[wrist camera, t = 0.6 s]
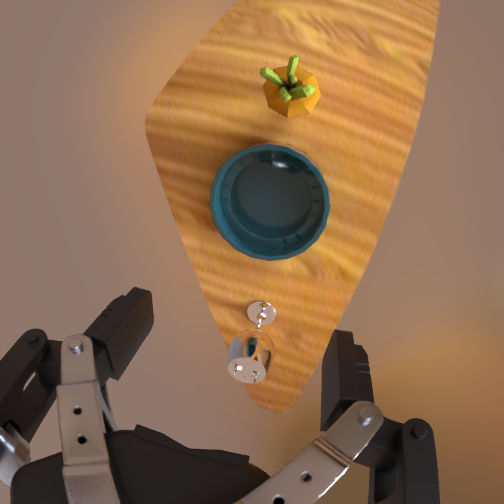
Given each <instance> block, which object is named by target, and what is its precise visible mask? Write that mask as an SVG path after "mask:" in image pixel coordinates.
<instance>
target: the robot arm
mask: <svg viewBox="0 0 504 504" xmlns="http://www.w3.org/2000/svg"><path fill="white" fill-rule="evenodd" d="M153 322H154V314H153V304H152V294H151V292H150V291H148V290H144V289H140V288H137V287H134V288H132V290H131V291H130V292H129V293H128V294H127V295H126V296H124V295H122V296H120V297H118V298H116V299H114V300H113V301H112V302H111V303H110V304H109V305H108V306H107V308H106V309H104V311H103V312H102V313H101V314H100V315H99V317H97V318H96V320H95V321H94V322H93V323H92V324H91V325H90V326H89V328H88V329H87V330H86V331H85V332H84V333H83V334H75V335H71V336H69V337H68V338H66V339H65V340H64V341H54V340H48V338H47V335H46V333H45V332H44V331H43V330H41V329H31V330H28V331H26V332H25V333H24V334H23V335H22V336H21V337H20V338H19V339H18V340H17V342H16V343H15V344H14V345H13V346H12V348H11V349H10V350H9V351H8V352H7V353H6V355H5V356H4V357H3V358H2V360H1V361H0V481H1V482H2V483H3V484H5V485H6V486H7V487H8V488H10V497H11V500H10V504H314V503H315V502H316V501H317V500H318V499H319V498H320V497H321V496H322V495H323V494H324V493H325V492H326V491H327V490H328V489H329V488H330V487H331V486H332V485H333V484H334V483H335V482H336V481H337V480H338V479H339V477H340V476H341V475H342V474H343V473H344V472H345V471H346V470H347V469H348V467H349V466H350V465H351V463H352V462H355V463H359V464H361V465H365V466H367V467H370V476H369V494H368V504H440V494H439V478H438V468H437V459H436V458H437V457H436V449H435V441H434V434H433V430H432V428H431V427H430V425H429V424H428V423H427V422H426V421H424V420H422V419H418V418H414V419H410V420H408V421H407V422H406V423H405V424H402V423H399V422H396V421H393V420H390V419H387V418H386V417H384V416H383V414H382V411H381V410H380V408H378V406H376V405H375V404H374V397H373V389H372V382H371V375H370V368H369V362H368V356H367V353H366V352H365V350H364V349H363V347H362V346H361V345H355V344H354V340H353V334H352V332H348V331H342V330H336V329H335V330H334V331H333V334H332V336H331V339H330V341H329V344H328V347H327V349H326V352H325V354H324V358H323V363H322V392H321V425H320V426H321V427H320V431H326V432H325V433H324V434H323V435H322V436H321V437H320V438H318V439H315V440H314V441H312V443H310V444H309V445H308V446H307V447H306V448H305V449H304V450H302V452H300V453H299V454H298V455H297V456H296V457H294V458H293V459H292V460H291V461H290V462H289V463H287V464H286V465H285V466H284V467H283V468H282V469H280V470H279V471H278V472H277V473H275V474H274V475H273V476H272V477H270V476H269V475H268V474H266V472H264V471H263V470H261V469H260V468H258V467H256V466H255V465H252V464H250V463H248V461H249V456H247V455H242V454H237V453H232V452H228V451H223V450H208V449H190V448H187V447H185V446H183V445H181V444H180V443H178V442H176V441H175V440H173V439H171V438H170V437H168V436H166V435H165V434H163V433H160V432H157V431H155V430H152V429H149V428H146V427H144V426H141V425H138V424H137V425H136V427H135V429H134V430H118V429H117V426H116V424H115V420H114V417H113V412H112V408H111V403H110V399H109V393H108V388H107V384H106V382H107V380H108V379H109V377H110V378H113V379H115V380H119V378H120V377H121V375H122V374H123V372H124V371H125V369H126V367H127V366H128V364H129V363H130V361H131V360H132V358H133V357H134V355H135V353H136V352H137V350H138V349H139V347H140V346H141V344H142V343H143V341H144V340H145V338H146V337H147V335H148V334H149V332H150V331H151V329H152V326H153ZM33 372H34V373H35V374H36V375H35V376H34V378H33V379H32V380H31V382H30V383H29V384H28V386H27V387H26V389H25V390H24V392H23V389H24V385H25V383H26V382H27V381H28V379H29V378H30V377H31V375H32V374H33ZM56 398H57V409H58V420H59V431H60V440H61V447H62V451H61V452H59V453H56V454H54V455H51V456H48V457H45V458H42V459H39V460H36V461H34V462H31V457H30V447H29V443H30V441H31V440H32V438H33V436H34V434H35V433H36V431H37V429H38V428H39V426H40V424H41V422H42V421H43V419H44V417H45V416H46V414H47V413H48V411H49V409H50V408H51V406H52V404H53V403H54V401H55V400H56Z"/></svg>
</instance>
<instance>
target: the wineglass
mask: <svg viewBox="0 0 504 504" xmlns="http://www.w3.org/2000/svg"><path fill="white" fill-rule="evenodd" d="M247 315H248V317H249V319H250V320H251V321H252V322H254V323H255V324H257V326H256V328H255V329H247V330H244V331H242V332H240V333H238V334H237V335H236V336H235V337H234V339H233V340H232V342H231V344H230V348H229V353H228V371H229V373H230V374H231V376H233V377H234V378H235V379H237V380H238V381H241V382H244V383H257V382H260V381H262V380H263V379H264V378H265V376H266V375H267V373H268V371H269V369H270V367H271V365H272V362H273V359H274V353H275V350H274V344H273V341H272V340H271V338H270V337H269V336H268V335H267V334H266V333H264V332H263V331H260V325H268V324H270V323H272V322H273V321H274V320H275V318H276V310H275V308H274V307H273V306H272V305H271V304H269V303H267V302H264V301H257V302H254V303H252V304H250V305H249V307H248V309H247Z"/></svg>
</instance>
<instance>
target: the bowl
mask: <svg viewBox="0 0 504 504" xmlns="http://www.w3.org/2000/svg"><path fill="white" fill-rule="evenodd" d="M210 209H211V213H212V218H213V222H214V224H215V225H216V227H217V229H218V230H219V232H220V234H221V236H222V237H223V238H224V239H225V240H226V241H227V242H228V243H229V244H230V245H231V246H232V247H234V248H235V249H236V250H238V251H240V252H242V253H244V254H246V255H248V256H250V257H252V258H257V259H262V260H268V261H273V260H282V259H288V258H291V257H293V256H296V255H298V254H300V253H303V252H304V251H305V250H307V249H308V248H309V247H310V246H311V245H313V244H314V243H315V242H316V241H317V240H318V238H319V237H320V235H321V233H322V232H323V230H324V228H325V227H326V225H327V221H328V216H329V211H330V199H329V191H328V187H327V184H326V181H325V179H324V177H323V175H322V173H321V171H320V169H319V167H318V165H317V164H316V163H315V162H314V161H313V160H312V159H311V158H310V157H309V156H308V155H307V154H306V153H305V152H304V151H302V150H300V149H298V148H296V147H294V146H292V145H290V144H285V143H279V142H265V143H259V144H254V145H252V146H249V147H247V148H245V149H243V150H241V151H239V152H237V153H236V154H234V155H232V156H231V157H229V159H228V160H227V161H226V162H225V163H224V164H223V165H222V166H221V167H220V168H219V170H218V171H217V174H216V176H215V178H214V181H213V183H212V185H211V191H210Z"/></svg>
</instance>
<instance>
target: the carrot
mask: <svg viewBox="0 0 504 504" xmlns="http://www.w3.org/2000/svg"><path fill="white" fill-rule="evenodd" d="M298 59H299V57H298V56H292V57H290V60H289V63H288V66H284V67H280V68H276V69H274V70H273V71H272V70H270V69H268V68H266V67H264V68H262V69H260V74H261V76H262V77H264V78H265V79H267V81H266V82H265V84H264V85H263V89H264V92H265V96H266V99H267V103H268V106H269V107H270V108H271V109H273V110H275V111H277V112H279V113H280V114H282V115H284V116H285V117H287V118H291V117H296V116H301V115H306V114H309V113H310V112H311V110H312V109H313V107H314V106H315V104H316V103H317V101H318V100H319V98H320V97H321V94H320V91H319V87H318V84H317V80H316V77H315V75H314V74H312V73H311V72H309V71H307V70H305V69H303V68H302V67H300V66H298V65H297V63H298Z"/></svg>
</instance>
